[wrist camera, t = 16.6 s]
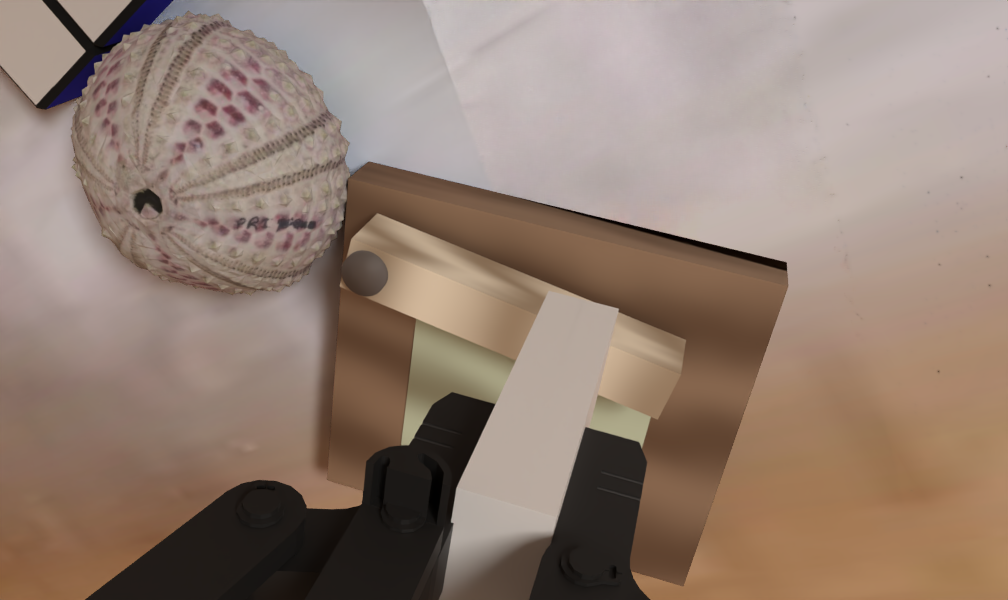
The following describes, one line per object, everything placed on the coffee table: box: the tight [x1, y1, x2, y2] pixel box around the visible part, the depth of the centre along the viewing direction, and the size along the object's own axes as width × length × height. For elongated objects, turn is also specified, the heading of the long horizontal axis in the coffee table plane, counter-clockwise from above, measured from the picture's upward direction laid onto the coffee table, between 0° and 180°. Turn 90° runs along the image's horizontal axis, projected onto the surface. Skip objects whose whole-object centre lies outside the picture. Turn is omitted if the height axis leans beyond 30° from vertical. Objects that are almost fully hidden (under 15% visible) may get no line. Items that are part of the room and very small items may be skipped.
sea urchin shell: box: [71, 11, 350, 295], centre depth 41 cm, size 13×14×8 cm
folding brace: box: [339, 213, 686, 420], centre depth 39 cm, size 15×2×3 cm, turn 72°
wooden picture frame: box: [327, 162, 788, 586], centre depth 45 cm, size 18×20×3 cm
